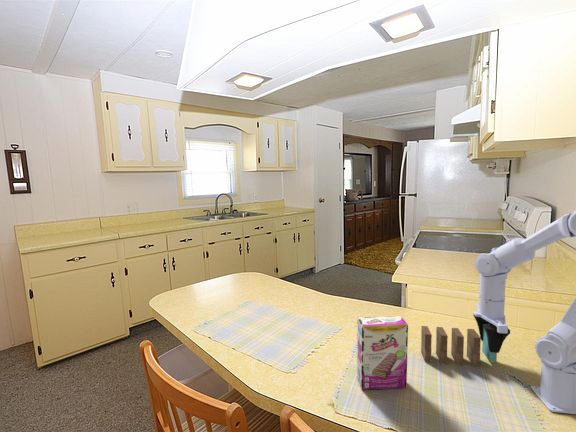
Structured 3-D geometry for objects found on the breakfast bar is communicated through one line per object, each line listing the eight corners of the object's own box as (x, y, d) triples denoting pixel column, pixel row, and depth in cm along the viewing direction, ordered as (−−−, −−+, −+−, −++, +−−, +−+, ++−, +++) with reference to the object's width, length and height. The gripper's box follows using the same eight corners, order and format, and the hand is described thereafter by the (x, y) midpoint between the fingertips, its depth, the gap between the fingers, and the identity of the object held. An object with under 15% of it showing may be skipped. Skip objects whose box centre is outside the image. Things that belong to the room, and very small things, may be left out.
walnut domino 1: (427, 352, 91) (427, 326, 90) (431, 362, 86) (431, 334, 85) (421, 352, 91) (421, 325, 90) (424, 361, 86) (425, 334, 85)
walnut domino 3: (457, 355, 89) (457, 328, 88) (463, 365, 84) (463, 336, 83) (451, 354, 89) (451, 327, 88) (456, 364, 84) (457, 336, 84)
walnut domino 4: (472, 356, 88) (473, 329, 87) (479, 366, 83) (480, 337, 82) (466, 355, 88) (467, 328, 88) (473, 366, 84) (473, 337, 83)
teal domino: (488, 351, 87) (489, 324, 86) (496, 362, 82) (497, 333, 81) (482, 351, 87) (483, 323, 86) (489, 361, 83) (490, 332, 82)
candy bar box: (362, 391, 75) (361, 326, 73) (356, 378, 80) (356, 316, 78) (408, 389, 75) (408, 323, 73) (400, 376, 80) (400, 314, 78)
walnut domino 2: (442, 353, 90) (442, 327, 89) (446, 363, 85) (447, 335, 84) (436, 353, 90) (436, 326, 89) (440, 363, 85) (441, 335, 84)
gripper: (465, 287, 91) (464, 332, 92) (485, 307, 77) (483, 360, 78) (493, 288, 89) (491, 334, 91) (518, 309, 75) (515, 362, 77)
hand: (489, 346), depth 84 cm, fingers closed on teal domino, 5 cm apart
